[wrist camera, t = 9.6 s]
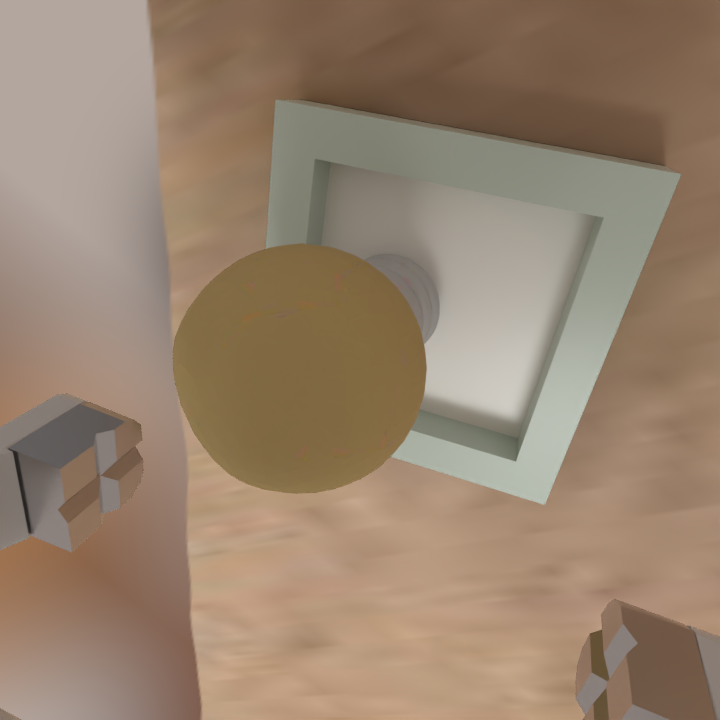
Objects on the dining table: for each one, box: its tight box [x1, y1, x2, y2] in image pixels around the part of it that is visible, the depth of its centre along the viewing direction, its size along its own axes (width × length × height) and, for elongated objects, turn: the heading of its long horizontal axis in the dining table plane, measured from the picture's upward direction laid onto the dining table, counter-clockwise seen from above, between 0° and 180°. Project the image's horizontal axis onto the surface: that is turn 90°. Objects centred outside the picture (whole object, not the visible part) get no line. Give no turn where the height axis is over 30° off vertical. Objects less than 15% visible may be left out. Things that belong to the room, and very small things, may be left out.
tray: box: [266, 100, 681, 505], centre depth 19 cm, size 12×12×2 cm
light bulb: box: [173, 243, 440, 494], centre depth 16 cm, size 6×6×10 cm
